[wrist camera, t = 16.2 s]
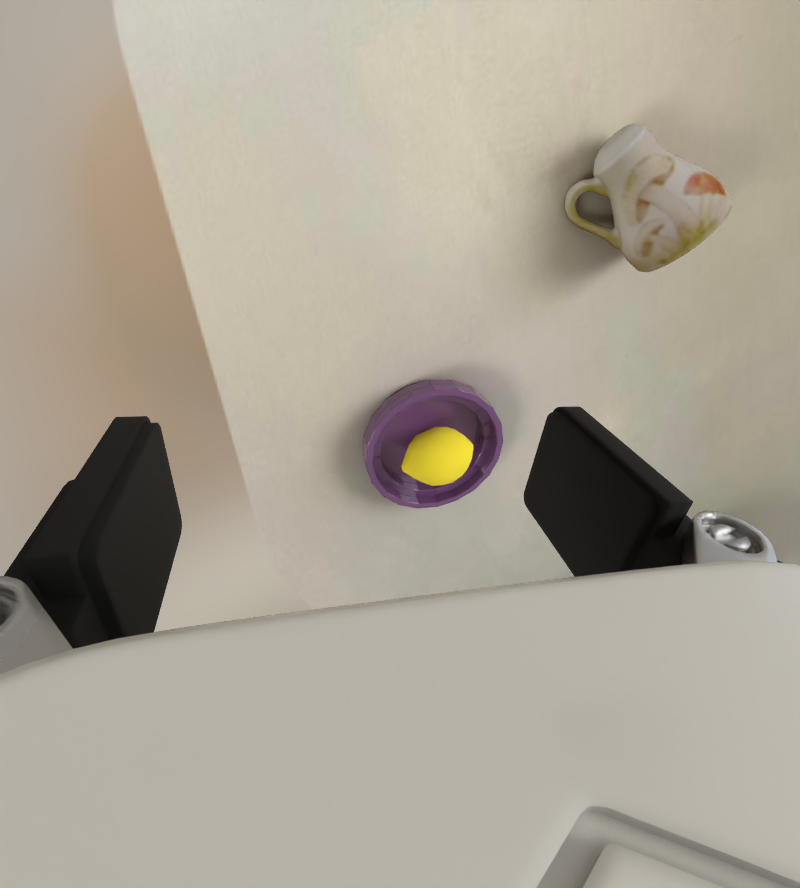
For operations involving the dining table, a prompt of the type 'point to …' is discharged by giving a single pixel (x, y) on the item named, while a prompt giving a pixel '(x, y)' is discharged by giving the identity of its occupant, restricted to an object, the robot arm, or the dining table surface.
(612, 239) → the mug
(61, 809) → the robot arm
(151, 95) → the dining table surface
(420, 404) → the dish
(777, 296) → the dining table surface
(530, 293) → the dining table surface
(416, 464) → the lemon
